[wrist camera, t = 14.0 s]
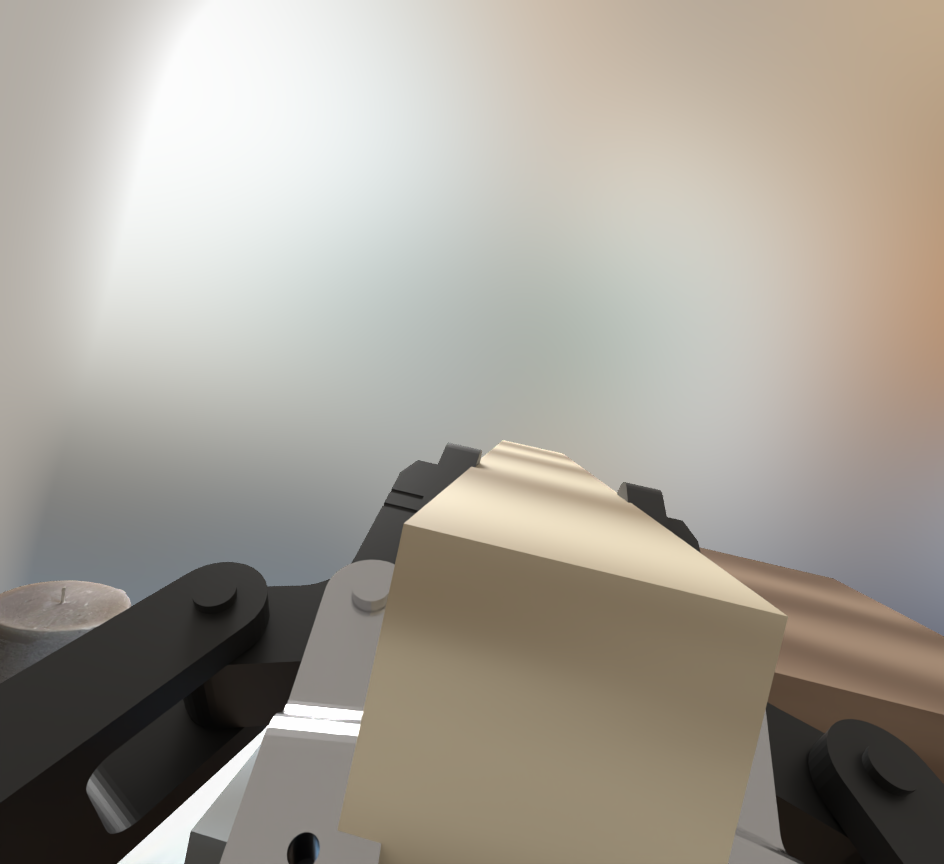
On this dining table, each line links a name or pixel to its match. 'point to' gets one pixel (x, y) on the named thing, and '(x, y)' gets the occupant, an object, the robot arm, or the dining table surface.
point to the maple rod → (557, 681)
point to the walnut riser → (782, 675)
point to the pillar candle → (51, 619)
